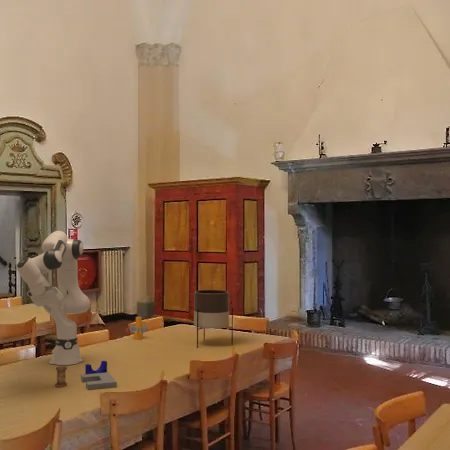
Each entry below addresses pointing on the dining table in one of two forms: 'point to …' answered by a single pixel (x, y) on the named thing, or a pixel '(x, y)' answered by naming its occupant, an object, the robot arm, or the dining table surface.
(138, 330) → the orange post with rings
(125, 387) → the dining table surface
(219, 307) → the planter
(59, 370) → the bobbin
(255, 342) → the dining table surface
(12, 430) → the dining table surface
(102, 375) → the notched board
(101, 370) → the cable clip
